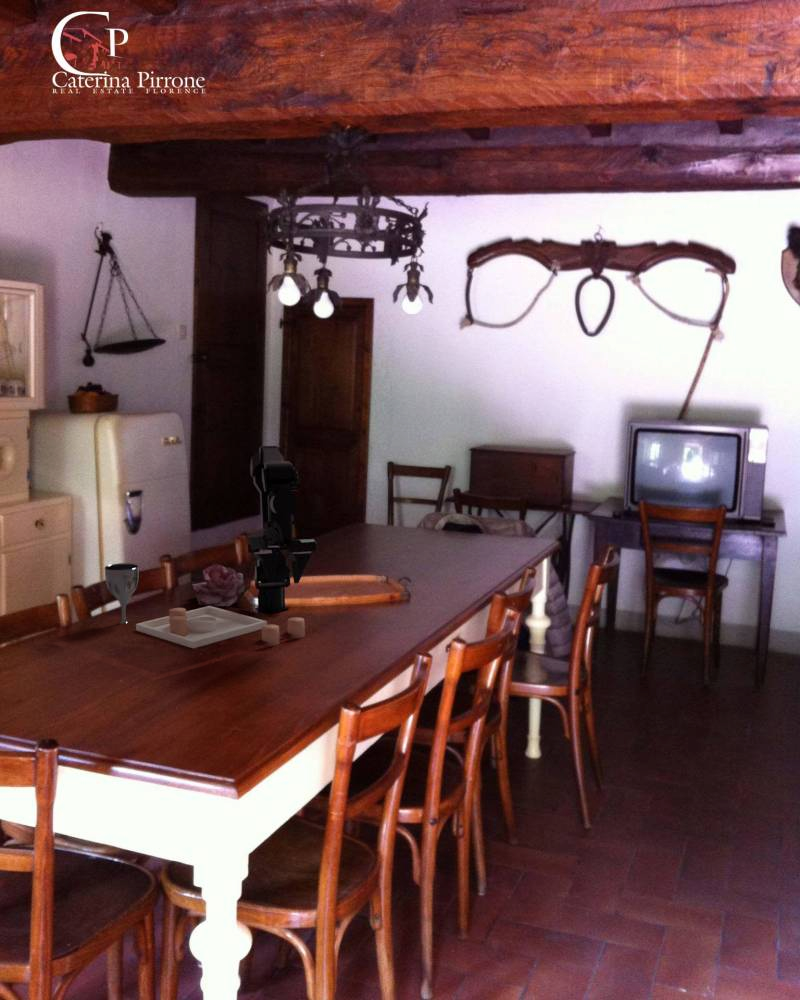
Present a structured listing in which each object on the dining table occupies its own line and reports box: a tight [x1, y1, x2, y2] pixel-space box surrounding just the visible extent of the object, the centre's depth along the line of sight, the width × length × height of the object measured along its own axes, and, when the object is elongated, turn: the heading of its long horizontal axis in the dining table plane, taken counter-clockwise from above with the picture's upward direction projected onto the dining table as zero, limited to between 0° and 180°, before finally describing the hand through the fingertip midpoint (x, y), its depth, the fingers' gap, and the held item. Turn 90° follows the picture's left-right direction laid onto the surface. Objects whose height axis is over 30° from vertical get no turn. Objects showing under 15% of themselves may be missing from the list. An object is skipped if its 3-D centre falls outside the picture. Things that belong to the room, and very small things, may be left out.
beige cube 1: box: [287, 617, 306, 639], centre depth 238 cm, size 4×4×4 cm
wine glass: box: [104, 562, 140, 625], centre depth 246 cm, size 8×8×15 cm
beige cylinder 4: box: [168, 607, 187, 622], centre depth 243 cm, size 4×4×4 cm
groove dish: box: [135, 605, 268, 649], centre depth 241 cm, size 22×22×3 cm
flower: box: [191, 563, 251, 607], centre depth 266 cm, size 15×15×10 cm
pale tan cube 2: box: [261, 624, 280, 647], centre depth 232 cm, size 4×4×4 cm
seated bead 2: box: [170, 616, 188, 637], centre depth 236 cm, size 4×4×4 cm
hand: (283, 583), depth 235 cm, fingers open, 9 cm apart
